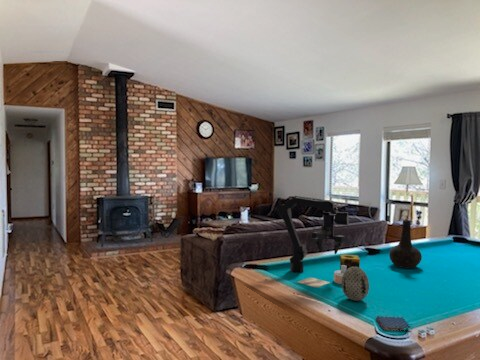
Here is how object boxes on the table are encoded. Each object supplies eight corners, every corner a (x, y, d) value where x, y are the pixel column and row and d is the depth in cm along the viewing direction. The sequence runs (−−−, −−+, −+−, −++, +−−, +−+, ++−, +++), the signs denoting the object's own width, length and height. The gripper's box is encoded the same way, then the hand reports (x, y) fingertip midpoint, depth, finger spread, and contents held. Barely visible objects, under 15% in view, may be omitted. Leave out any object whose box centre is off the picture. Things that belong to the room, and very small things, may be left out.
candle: (360, 277, 202) (360, 259, 202) (340, 276, 204) (341, 258, 204) (358, 272, 212) (358, 255, 212) (339, 271, 214) (339, 254, 214)
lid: (330, 274, 192) (331, 265, 192) (340, 271, 198) (340, 262, 198) (347, 278, 185) (347, 269, 185) (355, 274, 192) (356, 266, 192)
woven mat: (374, 320, 147) (374, 314, 147) (402, 321, 146) (402, 316, 146) (381, 331, 137) (382, 326, 137) (412, 333, 136) (412, 327, 136)
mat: (296, 283, 191) (296, 281, 191) (310, 278, 199) (310, 277, 199) (316, 289, 182) (316, 287, 182) (330, 284, 191) (330, 282, 190)
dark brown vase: (388, 268, 222) (390, 221, 221) (389, 261, 239) (390, 217, 238) (422, 271, 215) (423, 223, 214) (420, 264, 232) (421, 219, 231)
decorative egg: (353, 306, 160) (354, 271, 160) (335, 297, 171) (336, 264, 170) (374, 302, 165) (375, 268, 164) (356, 294, 176) (357, 262, 175)
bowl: (330, 283, 192) (331, 274, 192) (340, 279, 198) (340, 271, 198) (346, 287, 186) (347, 278, 185) (355, 283, 192) (356, 274, 192)
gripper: (305, 223, 203) (304, 252, 204) (335, 227, 190) (335, 258, 190) (316, 221, 211) (316, 249, 212) (347, 225, 198) (346, 254, 198)
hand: (327, 252), depth 203 cm, fingers open, 9 cm apart
